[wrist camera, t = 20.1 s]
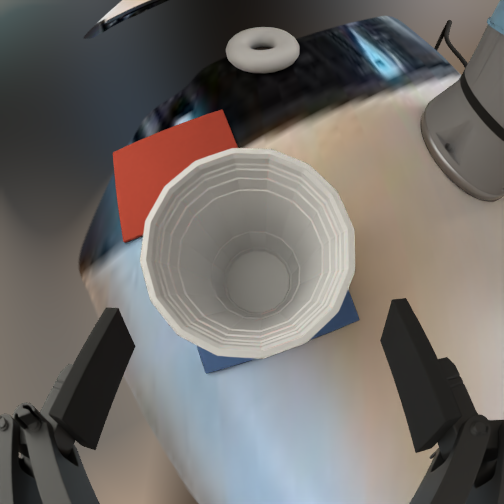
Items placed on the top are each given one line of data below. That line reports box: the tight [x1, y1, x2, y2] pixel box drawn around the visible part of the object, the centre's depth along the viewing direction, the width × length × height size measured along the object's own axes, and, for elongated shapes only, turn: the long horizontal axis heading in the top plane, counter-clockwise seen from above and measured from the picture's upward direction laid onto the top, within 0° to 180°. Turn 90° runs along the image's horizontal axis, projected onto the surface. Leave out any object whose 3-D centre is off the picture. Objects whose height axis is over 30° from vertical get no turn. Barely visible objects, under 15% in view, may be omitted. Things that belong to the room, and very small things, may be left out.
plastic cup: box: [140, 148, 355, 359], centre depth 19 cm, size 11×11×12 cm
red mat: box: [113, 110, 238, 243], centre depth 29 cm, size 12×14×1 cm
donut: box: [226, 27, 299, 73], centre depth 32 cm, size 10×3×10 cm
